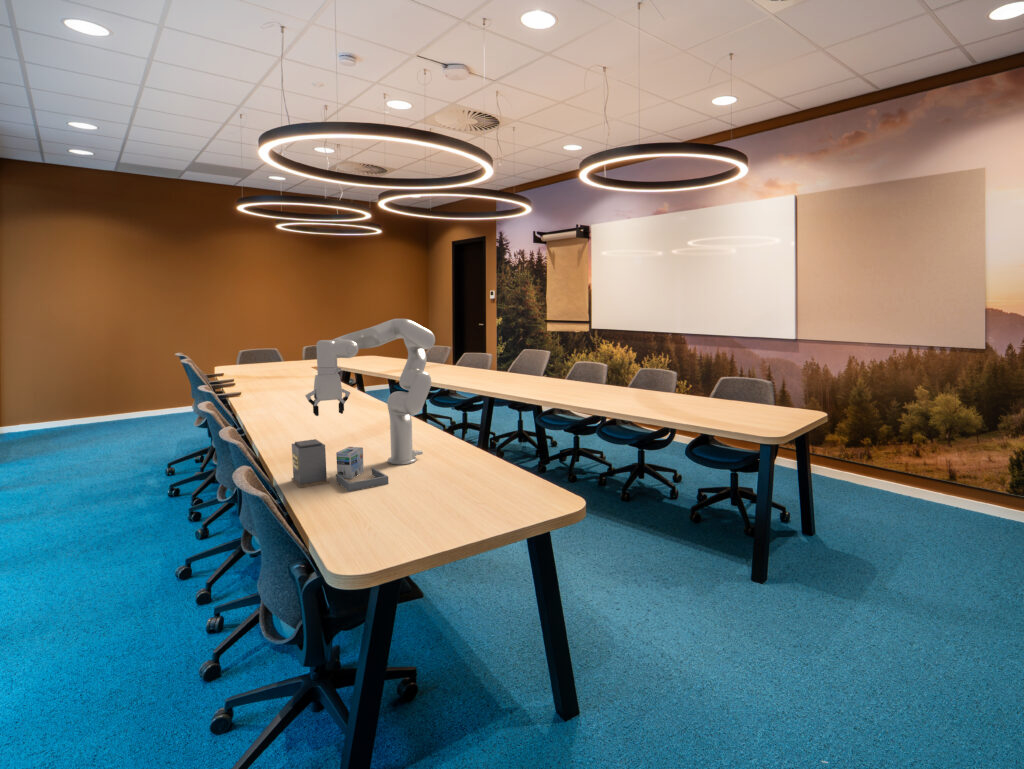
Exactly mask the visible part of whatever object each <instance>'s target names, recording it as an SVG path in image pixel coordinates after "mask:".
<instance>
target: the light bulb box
mask: <svg viewBox="0 0 1024 769" xmlns="http://www.w3.org/2000/svg"><path fill="white" fill-rule="evenodd" d="M335 455H336V474H339V475H340V476H341V477H343V478H348V479H347V480H353V479H354V477H355V478H356V477H358V476H360V475H362V474H363V473H364V470H365V469H364V448H363V447H361V446H360V447H359V446H347V447H346V448H343V449H341V450H339V451H337V452H336V454H335ZM362 472H363V473H362ZM359 474H360V475H359ZM357 475H358V476H357ZM352 478H353V479H352Z"/></svg>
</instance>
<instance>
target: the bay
mask: <svg viewBox="0 0 1024 769" xmlns="http://www.w3.org/2000/svg"><path fill="white" fill-rule="evenodd" d="M371 476H372V478H369V479H363V480H357V481H352V482H349V480H348V479H344V478H343V477H341V476H340V475H339V474H337V473H336V474H335V482H336V483H337V482H338V483H339V485H340V486H341V485H342V486H343V487H342V486H341V487H342V488H344V489H345V488H346V489H347V490H346V489H345V490H346V491H347V492H353V491H352V490H354V491H358V489H359V490H363V489H362V488H364V489H368V488H367V487H370V488H373V487H372V486H375V487H378V485H380V486H384V485H383V484H385V485H388V484H389V476H388V475H387V474H385V473H384V472H382V471H380V470H378V469H377V468H375V467H371ZM374 476H375V477H374ZM373 477H374V478H373ZM338 483H337V484H338Z"/></svg>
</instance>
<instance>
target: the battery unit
mask: <svg viewBox="0 0 1024 769" xmlns="http://www.w3.org/2000/svg"><path fill="white" fill-rule="evenodd" d="M326 455H327V454H326V444H324V443H323V442H321V441H319V440H317V439H316V438H314V439H306V440H300V441H294V443H291V458H292V476H293V477H290V478H291V481H292V482H293V483H294V485H296V486H297V487H298V488H299V489H302V488H308V486H309V487H314V486H318V485H324V483H325V484H329V483H330V480H329V479H328V477H327V474H328V473H327V459H326V458H327V457H326Z"/></svg>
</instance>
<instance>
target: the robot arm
mask: <svg viewBox="0 0 1024 769" xmlns="http://www.w3.org/2000/svg"><path fill="white" fill-rule="evenodd" d="M397 339H398V340H399V339H403V342H404V345H405V347H406V350H407V353H408V354H407V358H406V359H407V360H406V363H405V365H404V367H403V369H402V372H401V373H400V374H401V375H400V376H399V381H398V384H399V387H400V388H402V389H404V390H406V391H401V390H400V391H398V390H397V391H394V392H392V393H390V395H389V396H388V398H387V405H386V406H387V409H388V410H387V411H388V415H389V424H390V425H389V429H390V431H389V433H390V457H388V458H387V463H388V464H391V465H409V464H413V463H415V462H416V461H417V456H420V455H423V454H424V452H423V450H422V449H420V450H414V449H413V420H412V416H415V415H418V414H419V413H420V412H421V411H422V409H423V408H424V405H425V402H426V400H427V398H428V395H429V393H430V390H431V387H432V377H431V375H430V374H429V373H428V372H427V371H425V368H426V365H427V362H428V360H427V354H426V350H430V349H431V348H433V347H434V345H435V343H436V337H435V334H434V333H433V332H432V331H431V330H430V329H428V328H426V327H424V326H422V325H421V324H419V323H417V322H415V321H414V320H412V319H408V318H392V319H390V320H386V321H384V322H381V323H379V324H376V325H373V326H371V327H368V328H363V329H361V330H357V331H353V332H350V333H347V334H343V335H341V336H337V337H336V338H333V339H321V340H318V341H317V342H316V365H317V369H316V371H317V374H316V375H314V381H313V382H314V383H313V390H311V391H310V392H308V393H307V394H305V395H304V396H305V398H306V400H307V401H308V402H309V403H310V404H311V406H312V413H313V415H314V416H316V417H319V415H320V412H319V403H320V402H324V401H335V400H336V401H338V413H339V414H344V412H345V403H346V402H347V401H348V400H349V397H350V395H351V392H350V391H348V390H346V389H344V388H343V387H342V382H341V377H340V374H339V372H342V368H341V367H339V366H338V358H341V359H351V358H354V357H355V356H357V354H358V353H359V350H362V349H373V348H377V347H380V346H383V345H384V344H387V343H389V342H392V341H395V340H397ZM343 394H345V395H344V396H343ZM312 396H313V398H314V400H313V399H312Z"/></svg>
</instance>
